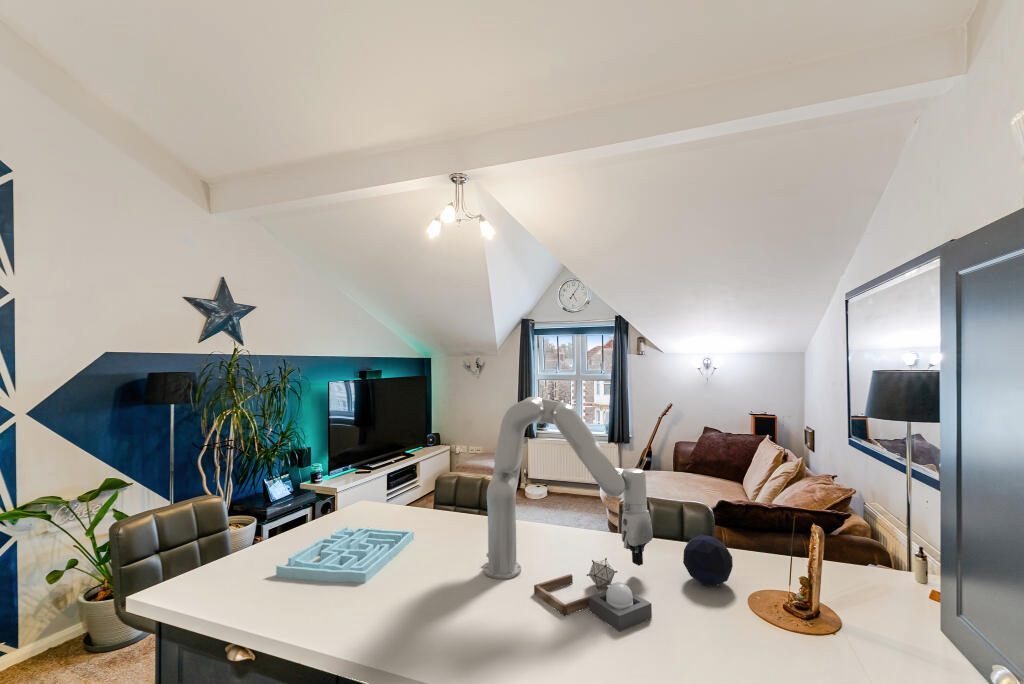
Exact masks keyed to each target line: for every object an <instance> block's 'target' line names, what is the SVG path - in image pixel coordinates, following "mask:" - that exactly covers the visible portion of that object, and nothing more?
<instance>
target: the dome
mask: <svg viewBox="0 0 1024 684" xmlns="http://www.w3.org/2000/svg"><path fill="white" fill-rule="evenodd" d="M606 590H607V593H606V602H607V603H608V604H610V605H611V606H613V607H615V608H616V609H618V610H622V609H624V608H627V607H629V606H632V605H633V595H632V593H633V591H632V590H631V589H630V587H629V586H628V585H626V584H625V583H623V582H619V581H617V582H616V581H615V582H613V583H611V585H608V588H607V589H606Z"/></svg>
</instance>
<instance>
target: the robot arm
mask: <svg viewBox="0 0 1024 684" xmlns="http://www.w3.org/2000/svg"><path fill="white" fill-rule="evenodd" d="M538 422H540V423H545V424H550V425H554V426H556V428H557V430H558V431H559V433H560V434H561V435H562V436H563V439H565V441H566V442H567V443H568V445H569V447H570V448H571V449H572V450H573V452H574V453H575V455H576V456H577V458H578V459H579V460H580V462H581V463H582V464H583V465H584V467H585V468H586V469H587V471H588V472H589V473H590V475H591V476H592V478H593V479H594V480H595V482H596V483H597V485H598V486H599V487H600V489H601V490H602V491H603V493H604V494H605V495H606V496H609V497H611V498H617V497H619V496H621V495H622V496H623V498H622V501H623V502H622V503H623V506H622V508H621V509H622V511H623V512H622V515H621V516H622V517H621V539H622V540H621V541H622V542H623V549H626V550H630V552H631V559H632V561H631V562H632V563H633V564H634V565H637V566H638V567H639V566H643V564H644V562H643V561H644V560H643V559H644V557H643V553H644V551H645V546H647V544H649V543H650V542H651V541H652V540H653V536H654V535H653V527H652V519H651V514H650V511H649V509H648V502H647V501H648V499H647V478H646V475H647V474H646V472H645V470H643V469H641V468H635V467H633V468H632V467H631V468H619V467H615V466H614V465H613V463H612V462H611V460H609V458H608V456H607V454H606V453H605V451H604V450H603V448H602V446H601V445H600V442H599V440H597V438H596V437H595V435H594V434H593V433H592V431H591V430H590V428H588V426H587V424H586V423H585V422H584V421H583V419H582V418H581V416H580V415H579V414H578V412H577V411H576V409H575V408H574V407H573V406H572V405H571V404H570V403H567V402H562V401H558V400H553V399H552V400H551V399H547V398H543V397H538V396H529V397H526V398H525V399H524V400H521V401H519V402H516V403H514V404H513V405H511V406H510V407H509V408H508V409H507V410H506V412H505V413H504V415H503V417H502V421H501V424H500V428H499V433H498V437H497V444H496V448H495V452H494V455H493V461H494V466H493V471H492V477H491V480H490V481H489V483H488V486H487V490H486V505H487V545H488V546H487V547H488V551H487V553H486V557H487V559H488V561H487V563H486V564H485V565H484V567H483V573H484V574H485V576H487V577H489V578H492V579H496V580H506V579H508V580H509V579H512V578H514V577H517V576H518V575H520V573H521V572H522V566H521V564H519V563H518V562H517V516H516V515H517V509H516V496H517V495H516V494H517V493H516V492H517V488H518V486H519V485H518V484H519V478H520V474H521V473H520V472H521V466H522V461H523V455H524V454H523V450H522V449H523V442H524V439H525V434H526V430H527V427H528V426H530V425H531V424H534V423H538Z"/></svg>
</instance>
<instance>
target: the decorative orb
mask: <svg viewBox="0 0 1024 684" xmlns="http://www.w3.org/2000/svg"><path fill="white" fill-rule="evenodd" d="M682 559H683V561H682V563H683V565H684V567H685V569H686V570H687V573H688V574H689V575H690V577H691V578H693V579H694V580H696V581H697V582H699V583H700V584H701V585H704V586H709V587H716V586H719V585H722V584H723V583H725V582H727V581H728V580H729V578H730V575H731V574H732V570H733V567H734V565H733V555H732V554H731V553H730V551H729V549H728V548H727V546H726V544H725V543H723V542H722V541H720V540H719V539H718V538H716V537H714V536H710V535H704V534H699V535H697V536H695V537H693V538H692V539H690V540H688V542H687V544H686V545H685V547H684V549H683V558H682Z"/></svg>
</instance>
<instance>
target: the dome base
mask: <svg viewBox="0 0 1024 684" xmlns="http://www.w3.org/2000/svg"><path fill="white" fill-rule="evenodd" d="M606 593H607V589H606V590H604V591H600V593H599V592H597V593H594V594H591V595H592V596H591V595H588V596H589V608H588V611H589V612H590V611H591V612H592V613H591V612H590V613H591V614H592V615H594V614H595V615H596V616H595V615H594V616H595V617H597V616H598V617H599V620H601V619H602V620H601V621H602V622H604V623H606V624H607V625H609V626H610V627H611V626H612V628H613V629H614V628H615V629H614V630H616V631H617V630H618V631H617V632H623V631H625V630H627V629H630V628H633V627H635V626H637V625H640V624H642V623H644V622H647V621H650V620H651V618H653V613H652V612H653V611H652V608H653V607H652V602H650V601H648V600H646V599H644V598H642V597H641V596H639V595H637V594H636V593H634V592H632V595H633V605H632V606H629V607H627V608H624V609H622V610H618V609H616V608H615V607H613V606H611V605H610V604H608V603H607V602H606ZM598 617H597V618H598Z"/></svg>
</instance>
